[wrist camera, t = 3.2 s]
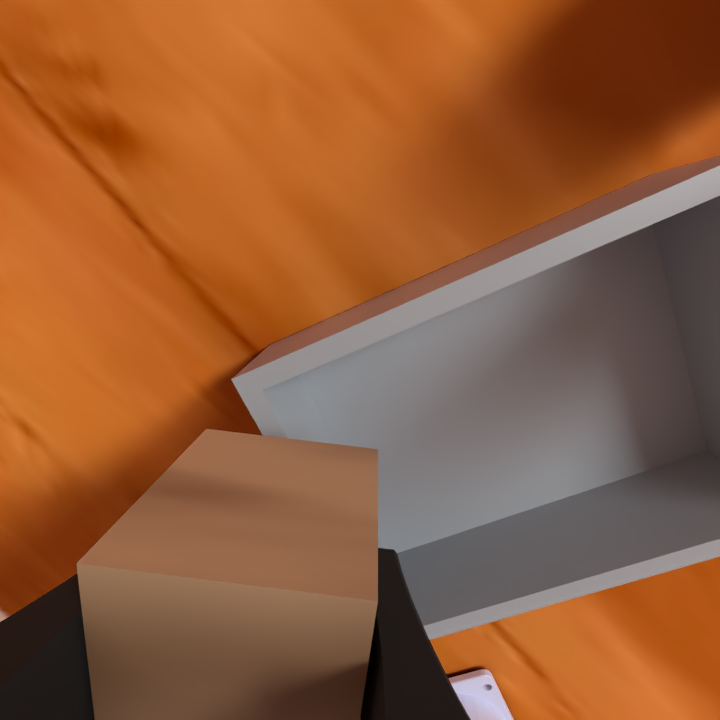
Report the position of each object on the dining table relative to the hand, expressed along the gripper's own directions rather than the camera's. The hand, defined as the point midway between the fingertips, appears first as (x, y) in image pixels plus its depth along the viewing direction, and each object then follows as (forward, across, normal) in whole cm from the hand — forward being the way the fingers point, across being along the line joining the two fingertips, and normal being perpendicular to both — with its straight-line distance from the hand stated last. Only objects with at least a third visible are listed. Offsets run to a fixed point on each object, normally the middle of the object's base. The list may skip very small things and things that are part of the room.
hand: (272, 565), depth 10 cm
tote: (+9, -8, -2) cm, 13 cm away
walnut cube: (+2, 0, 0) cm, 2 cm away
